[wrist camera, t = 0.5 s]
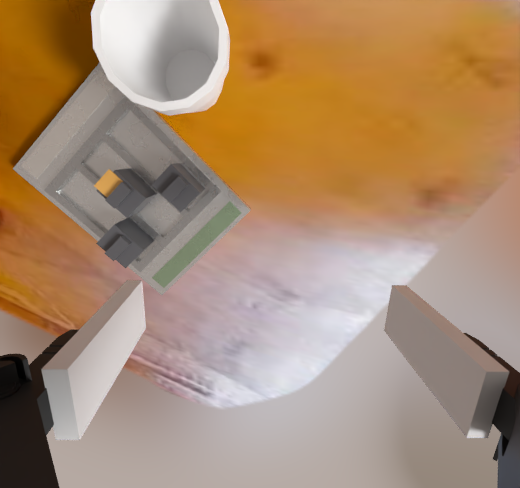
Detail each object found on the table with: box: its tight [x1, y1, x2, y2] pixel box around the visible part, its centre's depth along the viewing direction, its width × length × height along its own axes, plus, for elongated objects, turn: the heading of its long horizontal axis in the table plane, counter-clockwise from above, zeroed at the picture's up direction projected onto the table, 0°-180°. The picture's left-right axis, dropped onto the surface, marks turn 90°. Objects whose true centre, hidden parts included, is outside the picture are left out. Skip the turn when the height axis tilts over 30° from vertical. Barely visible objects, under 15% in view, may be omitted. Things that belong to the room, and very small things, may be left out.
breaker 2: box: [96, 217, 154, 268], centre depth 34 cm, size 4×3×5 cm
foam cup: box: [91, 0, 230, 115], centre depth 27 cm, size 10×9×13 cm
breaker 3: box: [152, 163, 205, 212], centre depth 33 cm, size 4×3×5 cm
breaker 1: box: [94, 168, 157, 218], centre depth 33 cm, size 4×3×5 cm
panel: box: [13, 63, 251, 295], centre depth 35 cm, size 22×16×2 cm
